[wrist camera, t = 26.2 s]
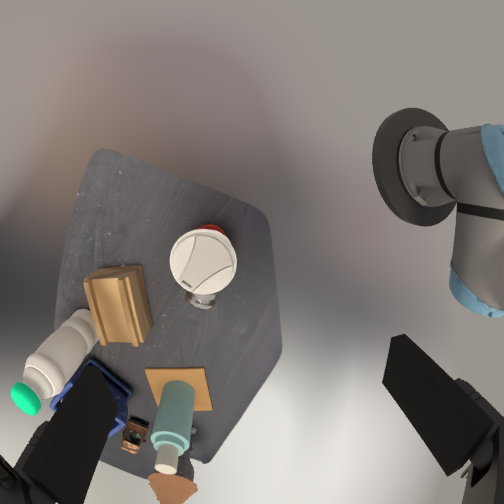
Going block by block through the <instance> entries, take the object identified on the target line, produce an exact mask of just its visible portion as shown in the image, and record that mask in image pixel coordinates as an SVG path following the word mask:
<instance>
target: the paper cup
mask: <svg viewBox="0 0 504 504" xmlns="http://www.w3.org/2000/svg"><path fill="white" fill-rule="evenodd" d="M170 267H171V271H172V274H173V276H174V278H175V279H176V281H177V282H178V283H179V284H180V285H181V286H182V287H183V288H185V289H186V290H188V291H190V292H192V293H195V294H201V295H204V294H212V293H216V292H218V291H220V290H222V289H223V288H225V287H226V286H227V285H228V284H229V283H230V281H231V280H232V279H233V277H234V275H235V271H236V267H237V259H236V254H235V251H234V248H233V247H232V245H231V243H230V240H229V239H228V238H227V236H226V234H225V232H224V231H223V230H222V229H221V228H220V227H218V226H216V225H212V224H207V225H203V226H201V227H199V228H198V229H196V230H193V231H190V232H188V233H186V234H184V235H183V236H181V237H180V238H179V239H178V240H177V241H176V243H175V244H174V246H173V248H172V251H171V254H170Z"/></svg>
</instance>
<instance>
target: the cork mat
mask: <svg viewBox="0 0 504 504" xmlns="http://www.w3.org/2000/svg"><path fill="white" fill-rule="evenodd" d="M145 372H146V375H147V378H148V381H149V384H150V386H151V389H152V392H153V395H154V398H155V400H156V403H157V406H158V407H159V403H160V399H161V395H162V392H163V388H164V385H165V384H166V383H167V382H169V381H172V380H180V381H184V382H186V383H188V384H190V385H191V386H192V387H193V389H194V390H195V400H194V409H193V411H207V410H213V408H212V404H211V399H210V394H209V390H208V385H207V380H206V375H205V370H204V367H197V368H145Z"/></svg>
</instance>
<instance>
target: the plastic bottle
mask: <svg viewBox="0 0 504 504" xmlns="http://www.w3.org/2000/svg"><path fill="white" fill-rule="evenodd" d="M194 400H195V390H194V389H193V387H192V386H191V385H190V384H188V383H186V382H184V381H180V380H172V381H169V382H167V383H166V384H165V385H164V388H163V392H162V395H161V399H160V403H159V407H158V411H157V414H156V418H155V422H154V426H153V430H152V434H151V441H152V443H153V444H154V448H155V449H156V450H157V451H158V452H157V458H156V463H155V469H156V470H157V471H159V472H161V473H164V474H175V473H176V472H177V464H178V456H181V455H182V454H183V453H184V451H186V450H187V449H188V448H189V446H190V436H191V426H192V417H193V409H194Z"/></svg>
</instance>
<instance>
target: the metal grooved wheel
mask: <svg viewBox="0 0 504 504" xmlns="http://www.w3.org/2000/svg"><path fill="white" fill-rule="evenodd" d="M219 293H220V291H218V292H216V293H212V294H204V295H201V294H195V293H192V292H190V291H187V292H186V294H185V299H186V301H187V302H188V303H189V304H190V305H191V306H193V307H195V308H198V309H202V310H209V309H212V308H213V307H214V306H215V304H216V301H215V299H217V298H218V295H219Z"/></svg>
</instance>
